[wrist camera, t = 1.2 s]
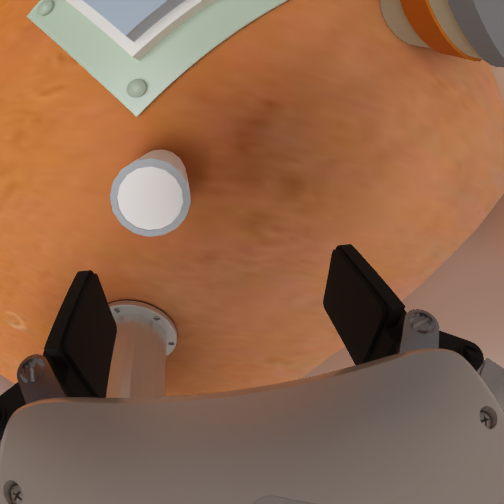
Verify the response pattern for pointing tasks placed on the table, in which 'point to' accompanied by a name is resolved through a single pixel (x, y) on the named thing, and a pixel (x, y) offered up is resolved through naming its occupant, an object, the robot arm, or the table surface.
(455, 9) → the reusable coffee cup
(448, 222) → the table surface
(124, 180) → the white tapered cup
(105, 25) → the stepped tiered stack
